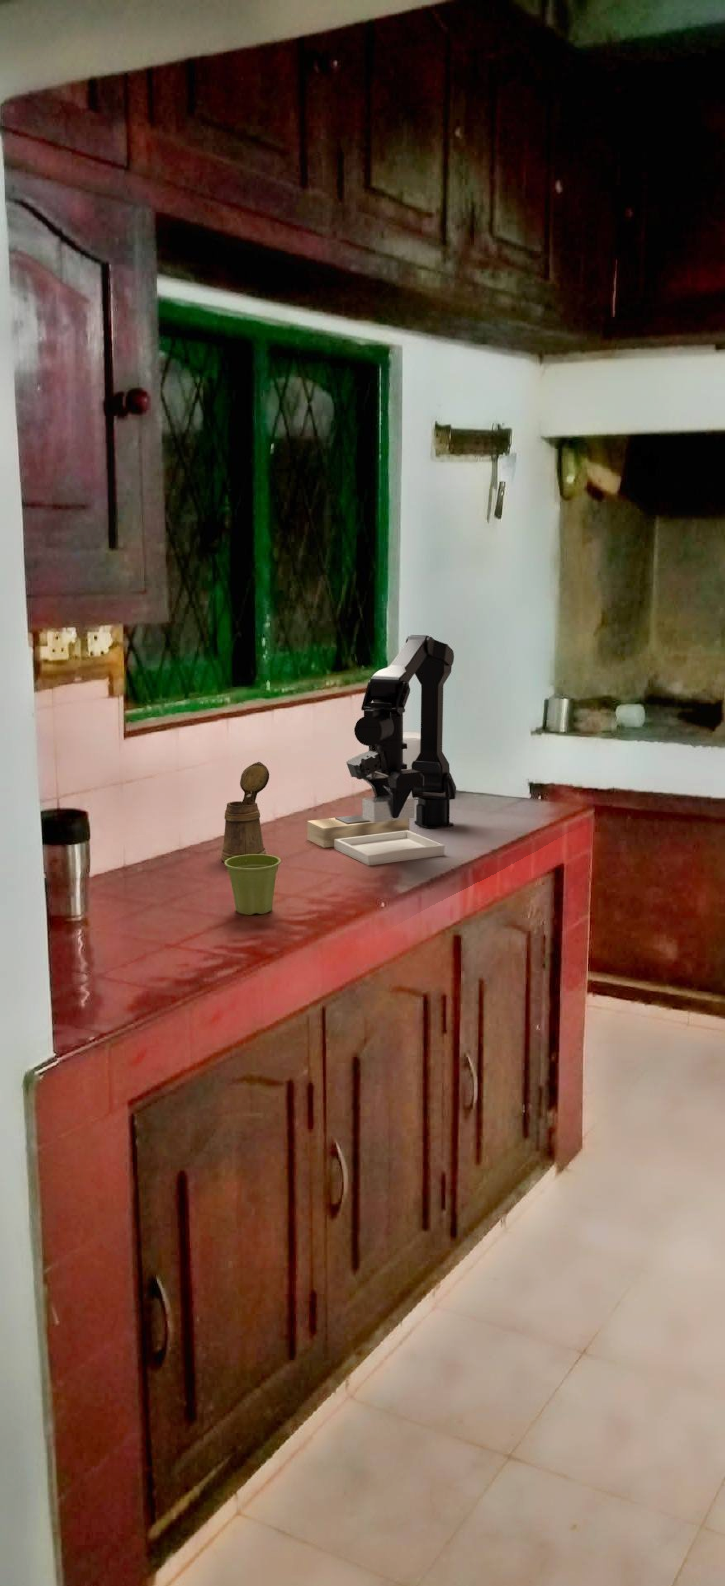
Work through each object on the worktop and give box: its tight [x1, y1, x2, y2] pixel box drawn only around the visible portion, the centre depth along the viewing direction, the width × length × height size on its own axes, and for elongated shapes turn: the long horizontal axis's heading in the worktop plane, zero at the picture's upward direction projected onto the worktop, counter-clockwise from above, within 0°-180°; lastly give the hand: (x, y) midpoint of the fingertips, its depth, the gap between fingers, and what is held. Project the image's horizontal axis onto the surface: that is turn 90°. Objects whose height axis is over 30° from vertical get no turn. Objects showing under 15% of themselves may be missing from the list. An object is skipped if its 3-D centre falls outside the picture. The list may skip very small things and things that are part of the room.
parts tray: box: [333, 830, 445, 866], centre depth 250 cm, size 17×15×2 cm
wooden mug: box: [221, 761, 270, 863], centre depth 246 cm, size 9×14×18 cm, turn 161°
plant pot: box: [224, 854, 282, 916], centre depth 210 cm, size 9×9×9 cm
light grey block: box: [362, 795, 415, 823], centre depth 248 cm, size 9×5×4 cm, turn 117°
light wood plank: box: [306, 813, 410, 849], centre depth 261 cm, size 20×8×4 cm, turn 117°
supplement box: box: [403, 731, 421, 800], centre depth 304 cm, size 9×9×15 cm
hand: (388, 815), depth 248 cm, fingers closed on light grey block, 5 cm apart
